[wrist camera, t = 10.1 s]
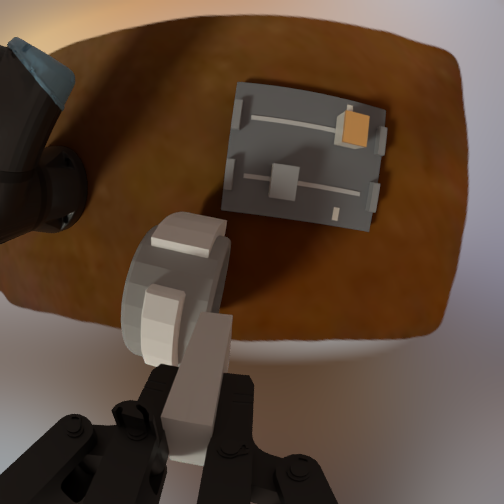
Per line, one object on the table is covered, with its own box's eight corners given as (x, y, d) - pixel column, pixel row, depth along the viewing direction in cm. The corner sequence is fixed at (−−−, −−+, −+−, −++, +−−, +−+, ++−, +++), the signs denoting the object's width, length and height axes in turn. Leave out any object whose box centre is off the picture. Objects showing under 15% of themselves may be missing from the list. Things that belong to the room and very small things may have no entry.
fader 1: (268, 194, 36) (269, 197, 32) (272, 164, 35) (273, 163, 31) (290, 197, 36) (294, 201, 32) (295, 167, 35) (299, 167, 31)
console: (222, 208, 40) (219, 211, 36) (238, 85, 34) (236, 78, 31) (364, 228, 40) (372, 234, 36) (380, 112, 34) (390, 108, 31)
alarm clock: (218, 321, 45) (193, 414, 25) (169, 309, 45) (119, 392, 25) (239, 213, 40) (218, 255, 20) (182, 201, 39) (114, 232, 20)
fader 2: (333, 144, 34) (343, 141, 30) (337, 116, 33) (346, 110, 29) (354, 149, 34) (366, 146, 30) (357, 121, 33) (369, 116, 29)
